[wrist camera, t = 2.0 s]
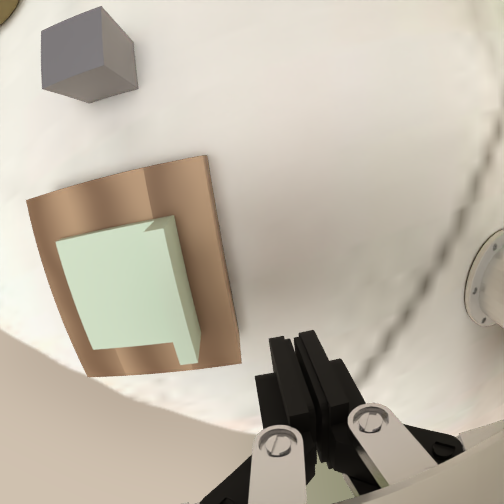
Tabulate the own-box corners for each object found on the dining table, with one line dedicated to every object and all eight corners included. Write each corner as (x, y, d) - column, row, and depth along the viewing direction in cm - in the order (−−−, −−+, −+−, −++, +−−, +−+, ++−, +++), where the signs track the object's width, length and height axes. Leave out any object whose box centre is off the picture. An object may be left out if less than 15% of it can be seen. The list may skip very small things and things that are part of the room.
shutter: (174, 215, 21) (163, 228, 17) (201, 332, 23) (198, 362, 20) (60, 238, 20) (34, 254, 17) (96, 344, 23) (80, 371, 19)
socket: (207, 155, 25) (202, 155, 20) (238, 331, 29) (241, 363, 25) (55, 191, 24) (26, 200, 19) (103, 347, 29) (87, 377, 24)
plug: (133, 42, 21) (101, 6, 13) (138, 88, 22) (104, 65, 15) (85, 57, 21) (41, 31, 13) (89, 103, 22) (42, 88, 15)
